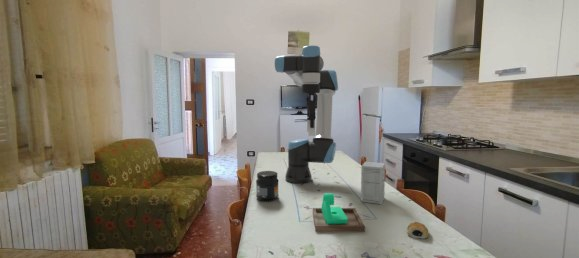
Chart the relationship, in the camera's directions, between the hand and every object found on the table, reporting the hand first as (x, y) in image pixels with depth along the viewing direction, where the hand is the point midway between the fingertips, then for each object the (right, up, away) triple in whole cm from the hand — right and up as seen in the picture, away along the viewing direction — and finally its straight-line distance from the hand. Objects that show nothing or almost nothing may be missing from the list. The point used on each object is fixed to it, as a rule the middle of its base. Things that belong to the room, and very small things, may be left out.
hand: (310, 133), depth 122 cm
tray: (+9, -33, -13) cm, 37 cm away
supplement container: (-20, -31, +12) cm, 38 cm away
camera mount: (+8, -33, -14) cm, 36 cm away
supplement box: (+29, -31, +9) cm, 44 cm away
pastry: (+35, -35, -23) cm, 55 cm away
